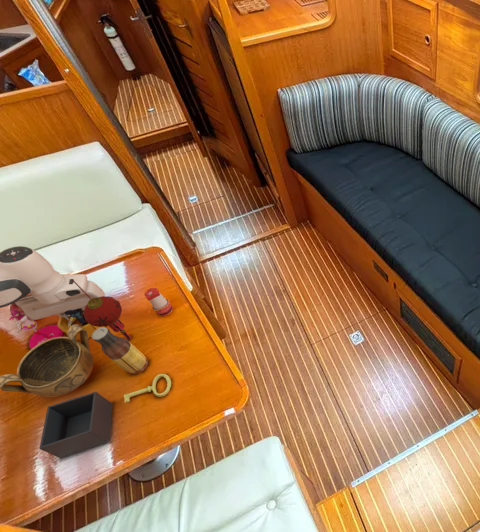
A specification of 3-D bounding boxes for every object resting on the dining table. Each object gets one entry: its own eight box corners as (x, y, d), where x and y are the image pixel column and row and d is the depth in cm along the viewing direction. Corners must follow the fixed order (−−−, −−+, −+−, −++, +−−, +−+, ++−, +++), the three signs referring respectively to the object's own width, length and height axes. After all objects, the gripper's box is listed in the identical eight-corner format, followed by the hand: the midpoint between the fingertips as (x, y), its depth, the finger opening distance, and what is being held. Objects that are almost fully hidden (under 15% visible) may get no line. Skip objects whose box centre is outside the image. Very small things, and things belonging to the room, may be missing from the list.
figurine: (38, 356, 124) (3, 330, 113) (23, 341, 127) (-13, 315, 116) (69, 333, 130) (38, 307, 118) (54, 320, 133) (22, 293, 122)
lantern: (144, 321, 133) (92, 262, 110) (145, 344, 127) (91, 286, 105) (113, 332, 130) (53, 273, 108) (113, 355, 124) (50, 298, 102)
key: (124, 398, 115) (120, 395, 113) (166, 372, 121) (163, 369, 119) (133, 416, 112) (129, 413, 110) (176, 388, 117) (173, 385, 116)
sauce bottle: (148, 354, 125) (114, 318, 110) (149, 370, 121) (115, 336, 106) (125, 362, 123) (88, 328, 108) (126, 379, 119) (87, 345, 104)
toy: (171, 301, 138) (151, 274, 127) (178, 316, 134) (158, 288, 123) (155, 309, 136) (133, 282, 125) (162, 324, 132) (140, 297, 121)
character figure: (93, 311, 135) (72, 290, 126) (103, 314, 135) (82, 293, 126) (71, 333, 130) (47, 312, 121) (81, 336, 129) (58, 316, 120)
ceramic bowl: (94, 337, 129) (65, 311, 117) (123, 364, 122) (96, 339, 111) (20, 391, 116) (-21, 367, 105) (48, 424, 110) (8, 403, 99)
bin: (61, 458, 104) (39, 448, 98) (67, 418, 111) (47, 406, 105) (109, 442, 107) (91, 431, 101) (112, 403, 114) (95, 391, 108)
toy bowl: (64, 345, 127) (54, 337, 123) (70, 314, 134) (61, 306, 131) (106, 333, 130) (98, 325, 126) (110, 304, 137) (102, 295, 134)
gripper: (8, 307, 114) (40, 333, 124) (88, 287, 119) (112, 313, 129) (13, 291, 117) (44, 317, 128) (90, 272, 122) (114, 299, 133)
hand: (79, 315), depth 128 cm, fingers closed on character figure, 3 cm apart
